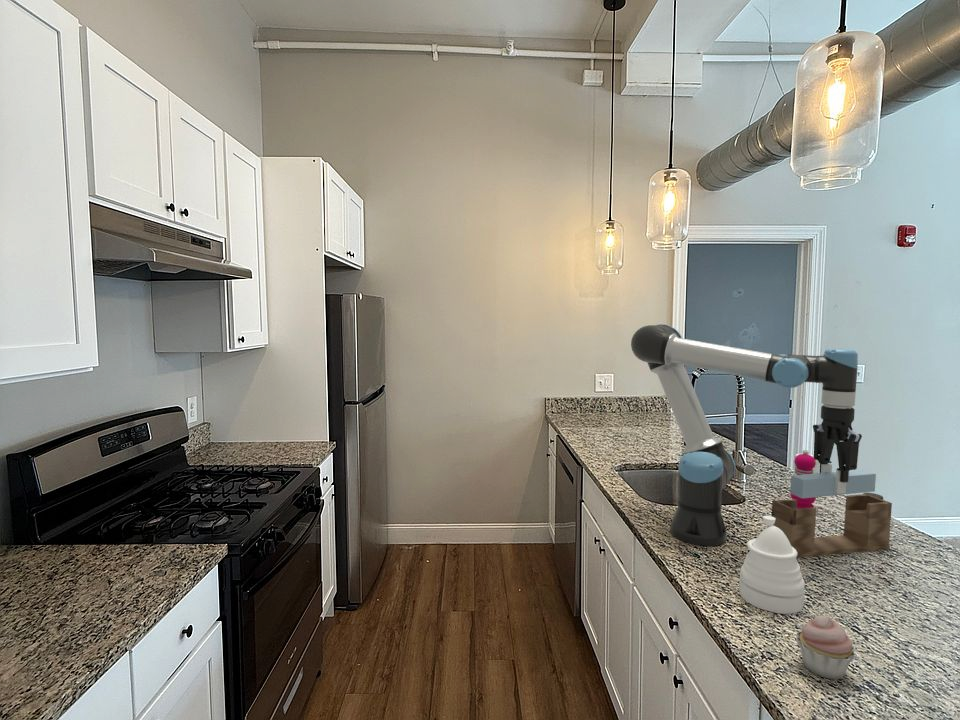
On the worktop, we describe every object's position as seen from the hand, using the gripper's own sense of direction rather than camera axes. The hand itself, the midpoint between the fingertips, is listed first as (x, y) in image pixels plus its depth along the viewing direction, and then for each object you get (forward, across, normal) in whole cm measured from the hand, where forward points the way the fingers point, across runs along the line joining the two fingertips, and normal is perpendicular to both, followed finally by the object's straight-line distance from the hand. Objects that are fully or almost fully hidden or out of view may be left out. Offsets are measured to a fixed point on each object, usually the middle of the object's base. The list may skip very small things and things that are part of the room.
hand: (832, 490), depth 144 cm
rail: (+1, 0, 0) cm, 1 cm away
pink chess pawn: (+17, +39, -28) cm, 51 cm away
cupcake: (+17, -43, +43) cm, 63 cm away
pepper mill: (+17, +27, -16) cm, 36 cm away
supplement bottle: (+17, +5, -19) cm, 26 cm away
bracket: (+16, 0, 0) cm, 16 cm away
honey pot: (+17, -20, +35) cm, 44 cm away
